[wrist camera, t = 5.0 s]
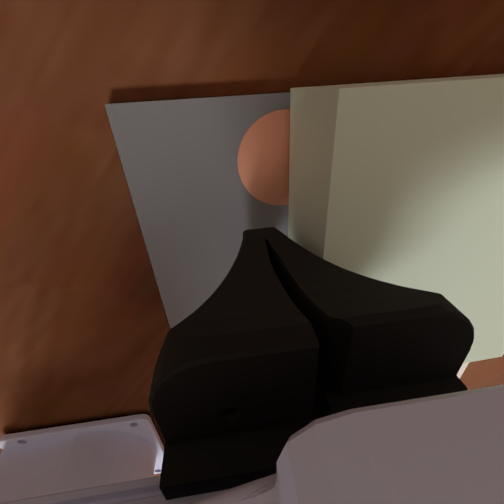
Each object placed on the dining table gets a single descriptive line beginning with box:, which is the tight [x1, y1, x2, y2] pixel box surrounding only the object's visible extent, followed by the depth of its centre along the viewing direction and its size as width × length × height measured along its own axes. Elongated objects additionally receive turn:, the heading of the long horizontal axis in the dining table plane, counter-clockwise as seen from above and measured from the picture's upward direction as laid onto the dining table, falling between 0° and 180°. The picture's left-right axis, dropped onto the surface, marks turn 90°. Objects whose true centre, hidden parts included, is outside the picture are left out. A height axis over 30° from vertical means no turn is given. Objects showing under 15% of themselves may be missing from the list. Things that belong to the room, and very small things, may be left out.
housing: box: [288, 74, 504, 363], centre depth 11 cm, size 9×11×4 cm
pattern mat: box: [104, 92, 290, 329], centre depth 12 cm, size 12×11×1 cm
